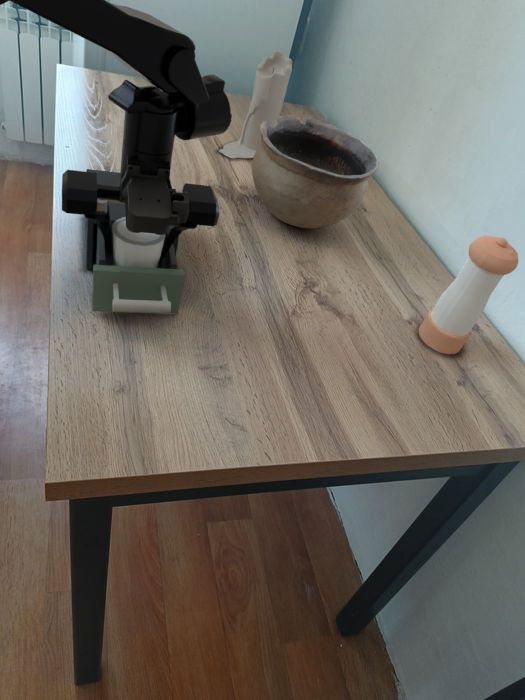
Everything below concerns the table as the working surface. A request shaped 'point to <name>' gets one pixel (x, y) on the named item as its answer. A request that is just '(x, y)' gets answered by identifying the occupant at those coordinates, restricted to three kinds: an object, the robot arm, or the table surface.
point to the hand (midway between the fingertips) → (136, 254)
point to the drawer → (135, 284)
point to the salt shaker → (468, 294)
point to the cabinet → (115, 214)
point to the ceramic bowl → (311, 171)
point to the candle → (262, 104)
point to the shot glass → (135, 247)
